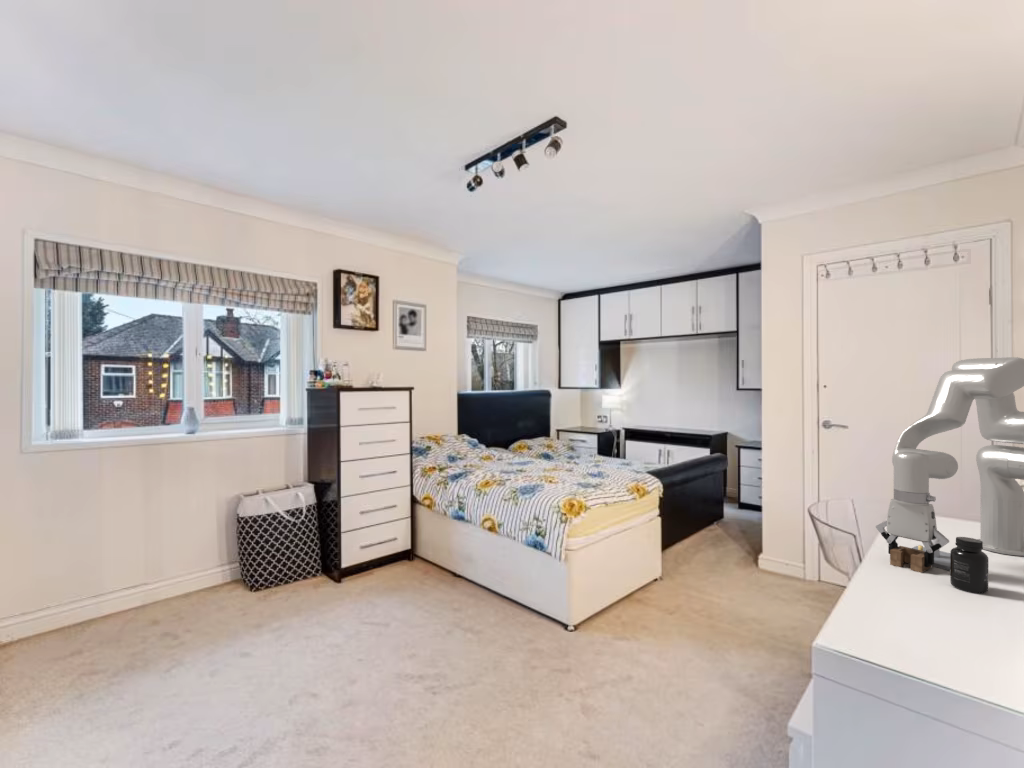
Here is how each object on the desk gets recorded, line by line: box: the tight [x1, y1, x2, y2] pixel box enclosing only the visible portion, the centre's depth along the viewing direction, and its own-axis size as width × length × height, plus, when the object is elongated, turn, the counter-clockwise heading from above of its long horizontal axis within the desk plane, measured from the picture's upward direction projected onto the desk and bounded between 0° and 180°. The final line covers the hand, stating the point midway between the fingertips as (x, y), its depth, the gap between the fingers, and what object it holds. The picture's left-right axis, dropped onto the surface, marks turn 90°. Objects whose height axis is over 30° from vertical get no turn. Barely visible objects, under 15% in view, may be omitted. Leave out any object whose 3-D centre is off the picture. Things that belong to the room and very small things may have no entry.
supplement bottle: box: [949, 536, 989, 594], centre depth 119 cm, size 7×7×12 cm
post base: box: [912, 538, 950, 571], centre depth 138 cm, size 14×12×6 cm
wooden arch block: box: [889, 545, 932, 574], centre depth 133 cm, size 7×7×4 cm
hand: (910, 561), depth 133 cm, fingers closed on wooden arch block, 7 cm apart
